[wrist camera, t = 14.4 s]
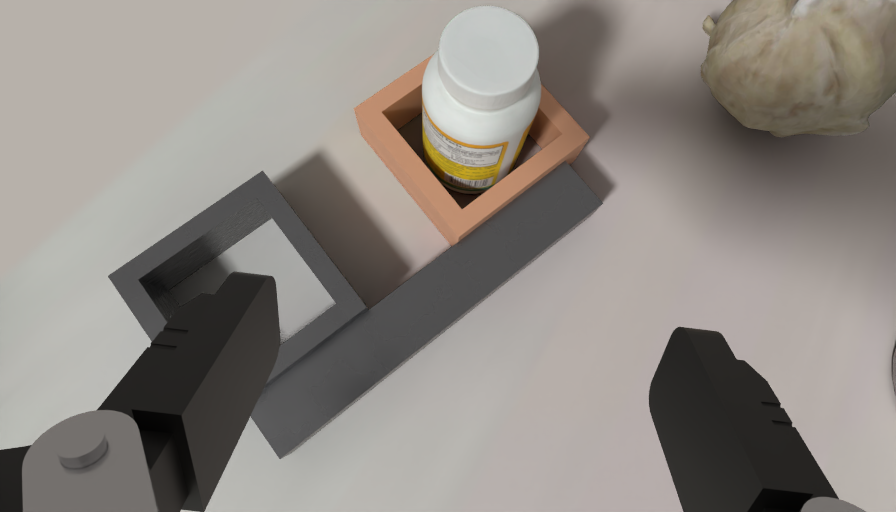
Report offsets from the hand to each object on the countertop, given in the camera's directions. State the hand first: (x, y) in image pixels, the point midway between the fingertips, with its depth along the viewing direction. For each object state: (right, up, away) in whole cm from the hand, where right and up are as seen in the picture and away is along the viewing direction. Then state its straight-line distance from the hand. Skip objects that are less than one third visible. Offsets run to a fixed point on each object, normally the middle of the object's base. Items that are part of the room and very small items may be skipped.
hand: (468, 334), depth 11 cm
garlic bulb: (+17, +11, +21) cm, 29 cm away
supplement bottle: (+1, +8, +20) cm, 21 cm away
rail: (-4, +2, +18) cm, 19 cm away
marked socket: (+1, +8, +19) cm, 21 cm away
